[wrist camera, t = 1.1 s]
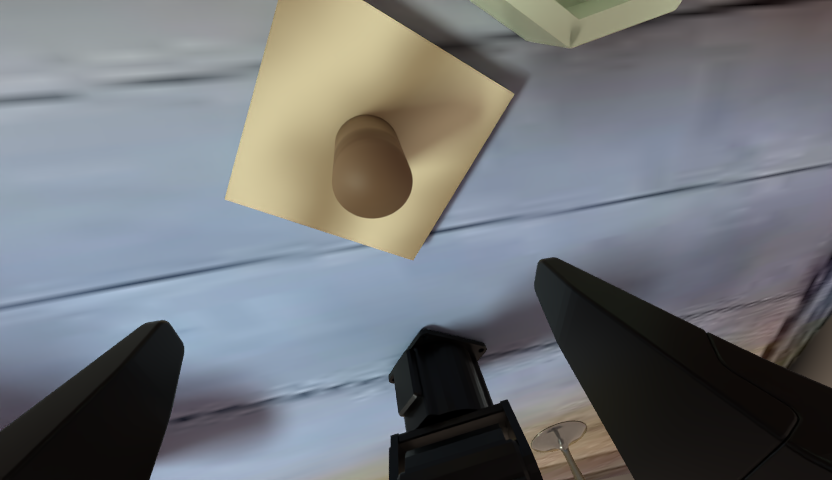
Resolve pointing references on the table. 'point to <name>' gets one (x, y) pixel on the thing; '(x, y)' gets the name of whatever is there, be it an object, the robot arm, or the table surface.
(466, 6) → the table surface
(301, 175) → the lid
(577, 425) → the wine glass
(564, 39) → the bowl
